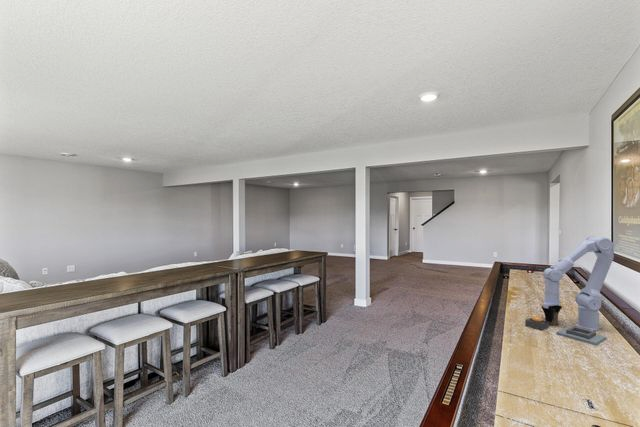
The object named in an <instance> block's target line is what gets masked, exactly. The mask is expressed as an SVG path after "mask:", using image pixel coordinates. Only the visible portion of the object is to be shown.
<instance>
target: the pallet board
mask: <svg viewBox="0 0 640 427" xmlns="http://www.w3.org/2000/svg"><path fill="white" fill-rule="evenodd" d="M555 333H556V335H557V336H561V337H564V338H568V339H571V340H575V341H580V342H583V343H587V344H590V345H594V346H598V345H599V344H601V343H602V342H605V341H606V340H607V336H606V335H602V334H597V332H596V331H593V330H589V329H585V328H581V327H577V326H571V327H570V326H566V327H564V328H562V329H560V330H557V331H556V332H555Z"/></svg>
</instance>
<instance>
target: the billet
mask: <svg viewBox="0 0 640 427" xmlns="http://www.w3.org/2000/svg"><path fill="white" fill-rule="evenodd" d="M544 321H546V318H545V317H544ZM558 325H559V314H558V312H554V315H553V320H552V322H548V326H551V327H552V326H553V327H556V326H558Z"/></svg>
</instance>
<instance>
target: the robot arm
mask: <svg viewBox="0 0 640 427" xmlns="http://www.w3.org/2000/svg"><path fill="white" fill-rule="evenodd" d="M614 246H615V244H614V243H613V241H612V240H611V239H610V238H608V237H605V236H604V237H601V236H594V235H591V236H588V237H587V238H586V239H584V240H582V242H581V244H580V245H578V246H577V247H576V248H575V249H574V250H573V251H572V252H571V253H570V254H569V255H567V257H560V258H558V259H557V262H555V263H554V264H553V265H550V267H549V268H548V267H547V268H545V269H544V270H543V272H542V276H543V278H544V279H545V281H544V299H542V300H541V302H543V304H542V305H541V309H542V311H543V313H544V319H545V318H546V321H548V322H552V320H553V315H554V312H558V315H559V313H560V311H561V310H562V309H563V308H562V307H563V306H562V305H561V300H560V281H561V280H562V279H563V276H564V274H566V273H567V272H568V271H569V270H570V269H572V268H573V267H574V263H575V262H576V261H578V260H580V258H582V257H583V256H584V255H586V254H587V253H591V252H592V253H594V255H595V256H596V257H597V258H596V260H595V263H594V266H593V268H592V270H591V273H590V275H589V278H588V279H587V283H586V285H585V286H584V287H583V288H581V289H580V291H579V293H578V294H576V296H575V298H574V299H575V302H576V304H577V307H578V308H577V310H578V311H577V323H576V324H574V327H577V328H581V329H585V330H589V331H594V332H596V331H598V330H600V329H602V328H603V326H601V325H600V313H599V310H600V309H601V308H602V299H603V296H602V294H601V290H602V287H603V285H604V282H605V280H606V278H607V275H608V273H609V270H610V269H611V266H612V263H613V261H614V258H615V256H614V250H613V248H614Z"/></svg>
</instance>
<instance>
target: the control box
mask: <svg viewBox="0 0 640 427" xmlns="http://www.w3.org/2000/svg"><path fill="white" fill-rule="evenodd" d="M524 321H525V322H524V324H525V327H529V328H532V329H535V330H539V331H544V330H546V329H549V325H548V321H545V319H542V323H538V322H535V321H532V317H529V318H526V319H525V320H524Z"/></svg>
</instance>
